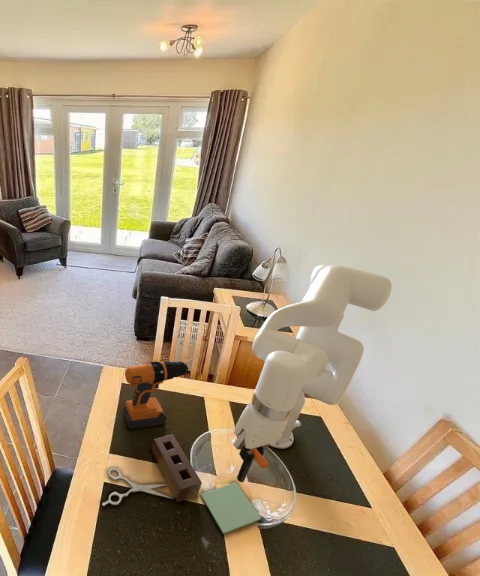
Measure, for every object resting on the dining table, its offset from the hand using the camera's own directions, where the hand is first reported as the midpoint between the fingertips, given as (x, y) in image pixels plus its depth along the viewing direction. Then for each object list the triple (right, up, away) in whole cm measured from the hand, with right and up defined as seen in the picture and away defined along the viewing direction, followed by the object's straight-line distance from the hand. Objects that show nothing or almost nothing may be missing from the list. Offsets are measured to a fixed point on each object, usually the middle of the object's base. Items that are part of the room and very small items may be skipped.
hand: (249, 458), depth 76 cm
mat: (-1, -19, +10) cm, 21 cm away
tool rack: (-14, -14, +18) cm, 27 cm away
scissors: (-25, -16, +13) cm, 33 cm away
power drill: (-18, -5, +35) cm, 40 cm away
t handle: (0, -7, +4) cm, 8 cm away
